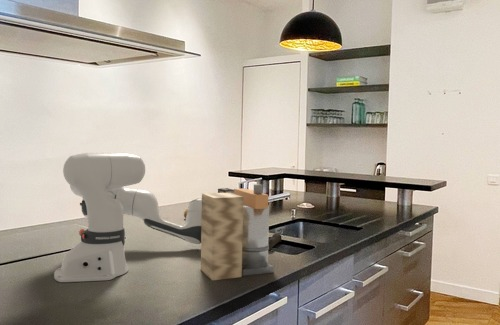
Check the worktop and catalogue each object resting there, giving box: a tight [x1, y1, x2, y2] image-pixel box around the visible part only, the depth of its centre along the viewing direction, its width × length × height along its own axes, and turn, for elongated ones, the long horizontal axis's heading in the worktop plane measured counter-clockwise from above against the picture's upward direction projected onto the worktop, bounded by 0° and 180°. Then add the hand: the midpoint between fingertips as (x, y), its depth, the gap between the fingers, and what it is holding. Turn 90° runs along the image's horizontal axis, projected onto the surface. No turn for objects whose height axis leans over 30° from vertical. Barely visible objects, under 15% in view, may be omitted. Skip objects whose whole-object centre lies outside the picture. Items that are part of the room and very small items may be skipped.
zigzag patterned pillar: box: [200, 192, 243, 281], centre depth 144 cm, size 10×12×26 cm
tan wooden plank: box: [233, 183, 269, 209], centre depth 151 cm, size 4×19×8 cm, turn 24°
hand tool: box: [268, 233, 282, 252], centre depth 182 cm, size 19×4×5 cm, turn 160°
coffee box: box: [217, 187, 234, 194], centre depth 250 cm, size 9×6×16 cm
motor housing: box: [242, 204, 274, 276], centre depth 149 cm, size 11×11×22 cm
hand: (237, 197), depth 163 cm, fingers open, 8 cm apart
